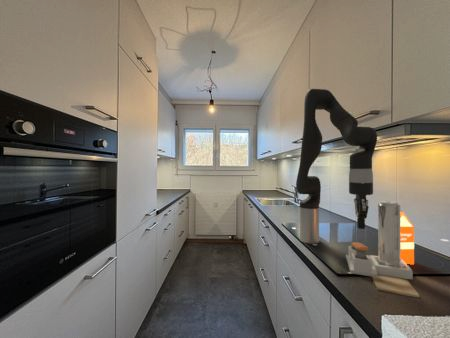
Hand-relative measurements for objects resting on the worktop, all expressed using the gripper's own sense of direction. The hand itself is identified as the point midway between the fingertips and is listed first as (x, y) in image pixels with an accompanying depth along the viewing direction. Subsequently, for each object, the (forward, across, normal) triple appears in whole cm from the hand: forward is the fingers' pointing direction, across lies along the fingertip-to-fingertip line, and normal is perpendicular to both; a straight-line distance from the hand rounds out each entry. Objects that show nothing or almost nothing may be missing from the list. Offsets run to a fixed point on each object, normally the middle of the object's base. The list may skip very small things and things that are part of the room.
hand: (361, 228), depth 81 cm
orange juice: (+16, -15, +14) cm, 26 cm away
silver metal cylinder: (+15, -3, +9) cm, 18 cm away
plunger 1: (+13, -7, 0) cm, 15 cm away
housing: (+15, -3, +5) cm, 16 cm away
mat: (+15, +9, +7) cm, 19 cm away
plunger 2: (+11, +2, 0) cm, 11 cm away
